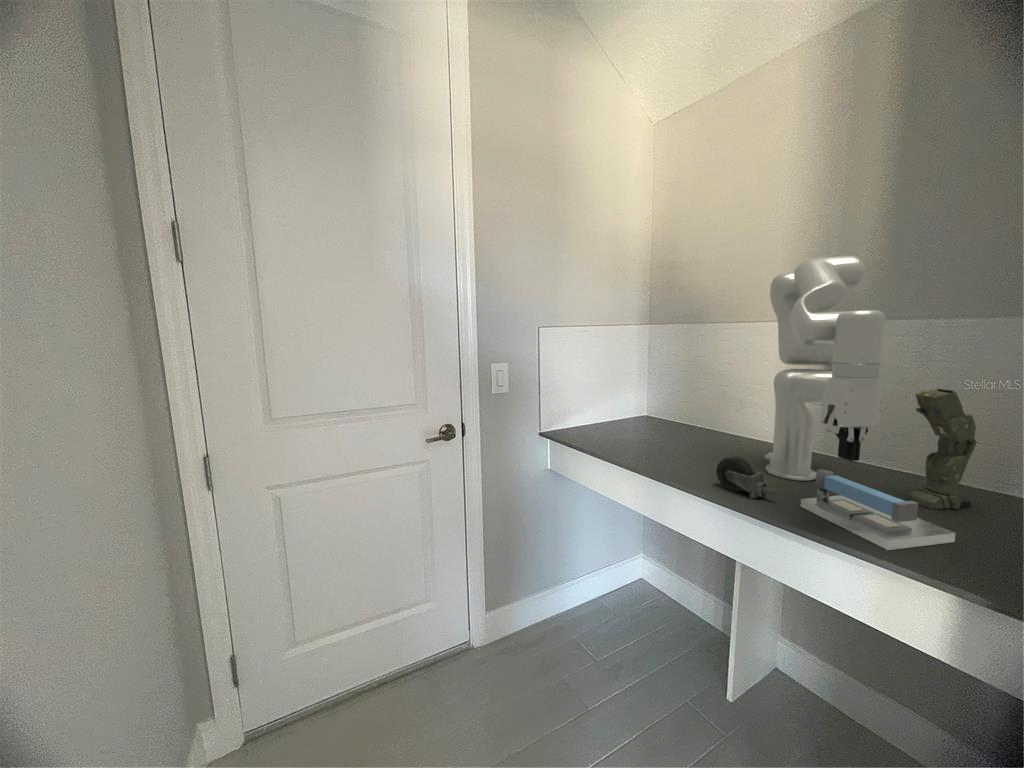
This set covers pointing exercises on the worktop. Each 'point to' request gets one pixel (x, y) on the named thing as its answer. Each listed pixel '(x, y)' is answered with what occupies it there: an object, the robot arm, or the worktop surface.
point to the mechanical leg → (945, 449)
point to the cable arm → (867, 496)
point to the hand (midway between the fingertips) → (848, 458)
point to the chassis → (876, 523)
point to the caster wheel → (742, 477)
